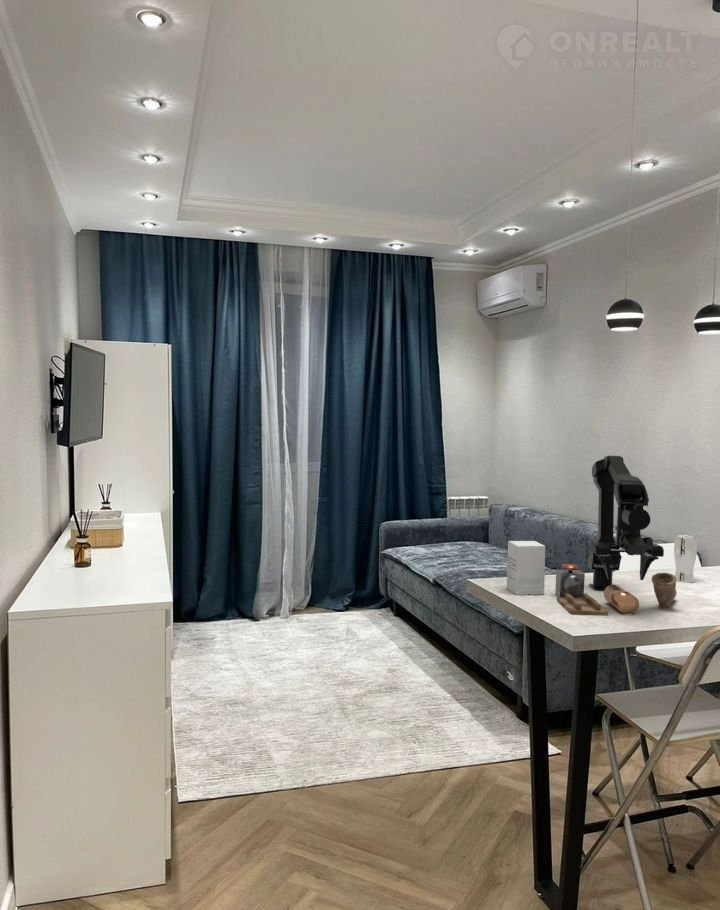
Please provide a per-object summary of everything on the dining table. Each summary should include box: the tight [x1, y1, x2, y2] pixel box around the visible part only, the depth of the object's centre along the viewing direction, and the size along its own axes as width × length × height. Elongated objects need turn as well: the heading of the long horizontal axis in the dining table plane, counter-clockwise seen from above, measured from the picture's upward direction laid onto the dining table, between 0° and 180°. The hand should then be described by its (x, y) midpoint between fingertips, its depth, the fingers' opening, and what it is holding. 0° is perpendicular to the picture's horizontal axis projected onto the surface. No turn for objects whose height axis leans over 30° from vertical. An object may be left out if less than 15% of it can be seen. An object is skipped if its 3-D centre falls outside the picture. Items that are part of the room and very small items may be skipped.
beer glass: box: [673, 534, 698, 584], centre depth 233 cm, size 7×7×15 cm
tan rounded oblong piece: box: [603, 583, 640, 615], centre depth 195 cm, size 12×6×6 cm, turn 179°
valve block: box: [554, 563, 586, 598], centre depth 206 cm, size 7×7×9 cm
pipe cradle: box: [556, 593, 609, 616], centre depth 195 cm, size 14×10×3 cm
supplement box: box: [506, 540, 546, 596], centre depth 212 cm, size 9×9×15 cm
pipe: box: [651, 572, 678, 609], centre depth 200 cm, size 6×17×10 cm, turn 145°
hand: (625, 579), depth 195 cm, fingers open, 9 cm apart
